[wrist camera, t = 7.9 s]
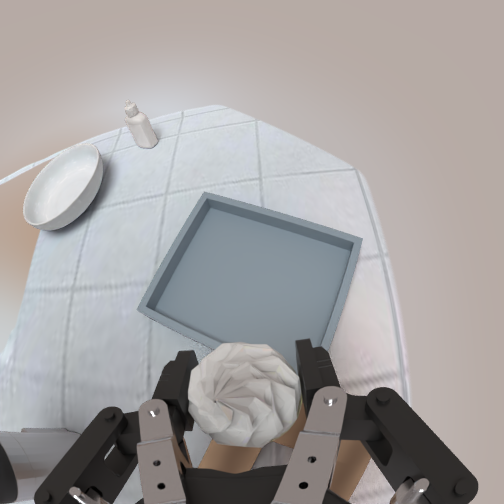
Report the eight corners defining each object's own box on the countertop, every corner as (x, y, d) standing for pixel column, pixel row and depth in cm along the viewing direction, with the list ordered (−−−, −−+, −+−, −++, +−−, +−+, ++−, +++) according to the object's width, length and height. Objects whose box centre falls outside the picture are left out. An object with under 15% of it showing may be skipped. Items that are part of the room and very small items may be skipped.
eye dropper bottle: (142, 154, 54) (119, 111, 44) (135, 142, 57) (115, 101, 46) (160, 144, 55) (140, 100, 44) (152, 132, 57) (134, 91, 47)
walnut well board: (189, 491, 26) (181, 498, 23) (244, 379, 33) (240, 379, 30) (317, 535, 21) (319, 544, 18) (376, 423, 28) (384, 426, 25)
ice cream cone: (267, 348, 21) (241, 271, 8) (308, 399, 19) (364, 419, 6) (214, 385, 20) (98, 369, 7) (253, 437, 18) (197, 520, 5)
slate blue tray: (147, 316, 38) (136, 309, 35) (209, 205, 46) (204, 191, 42) (310, 388, 31) (313, 388, 28) (357, 250, 39) (362, 238, 36)
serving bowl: (115, 150, 57) (103, 129, 51) (113, 221, 47) (94, 198, 41) (48, 184, 56) (33, 167, 50) (35, 255, 46) (14, 239, 40)
